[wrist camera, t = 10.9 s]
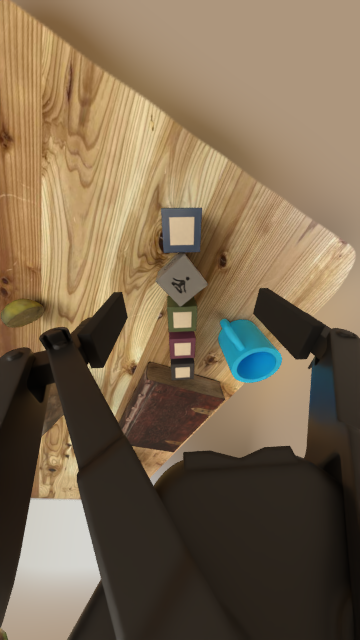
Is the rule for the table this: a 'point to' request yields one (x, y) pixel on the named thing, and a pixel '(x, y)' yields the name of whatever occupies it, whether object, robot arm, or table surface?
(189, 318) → the block
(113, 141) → the table surface
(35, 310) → the lime
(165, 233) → the block
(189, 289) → the dice cube
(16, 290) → the table surface
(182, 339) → the block
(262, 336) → the mug
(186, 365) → the block
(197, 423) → the hardback book
